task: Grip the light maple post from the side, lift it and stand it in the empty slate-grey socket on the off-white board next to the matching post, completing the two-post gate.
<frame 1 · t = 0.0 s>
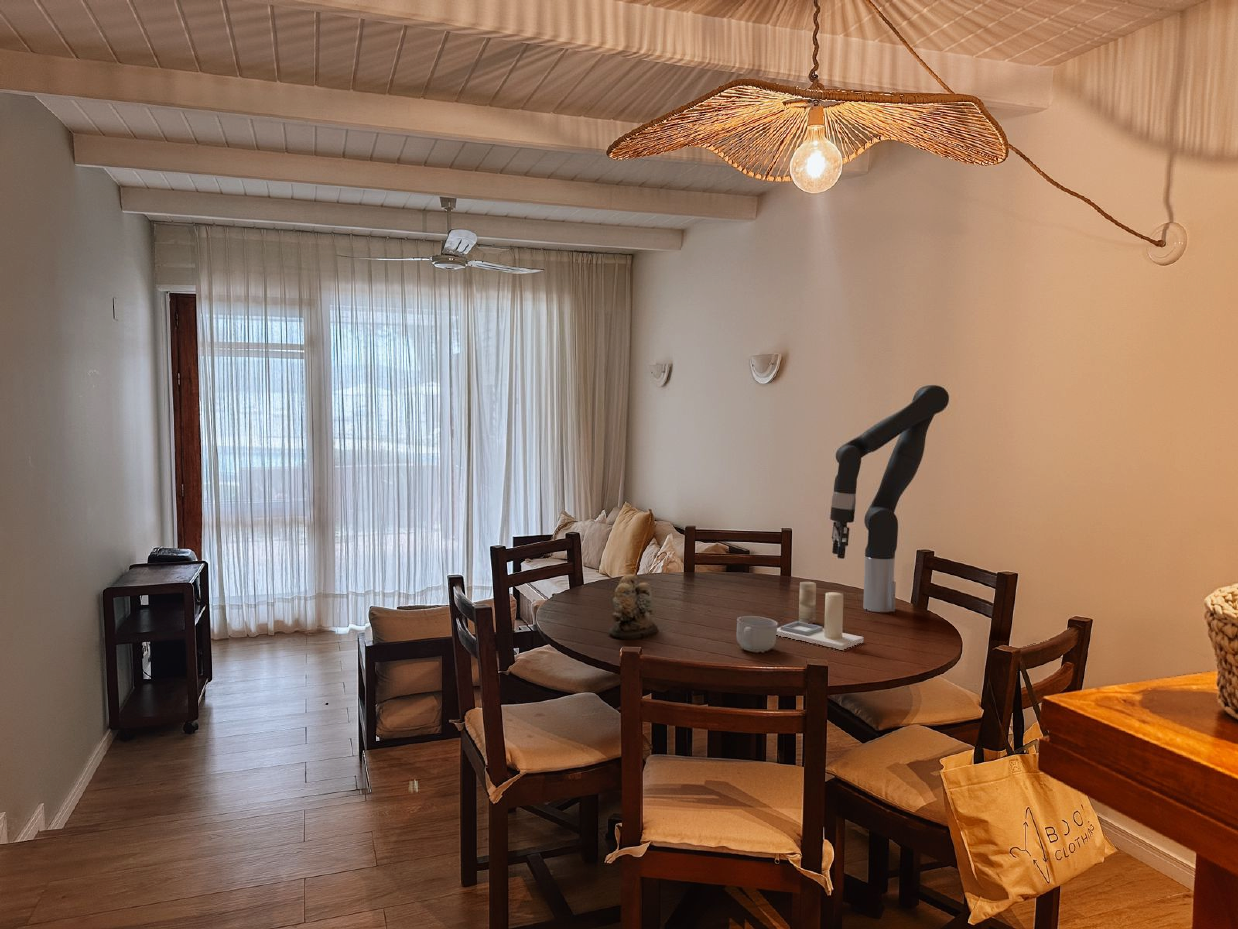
hand: (838, 556, 269), 17 cm above the table, tool pointing down, fingers open, 8 cm apart
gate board: (817, 638, 233), on the table
maple post: (806, 622, 251), on the table
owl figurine: (632, 633, 236), on the table
teacup: (753, 651, 220), on the table
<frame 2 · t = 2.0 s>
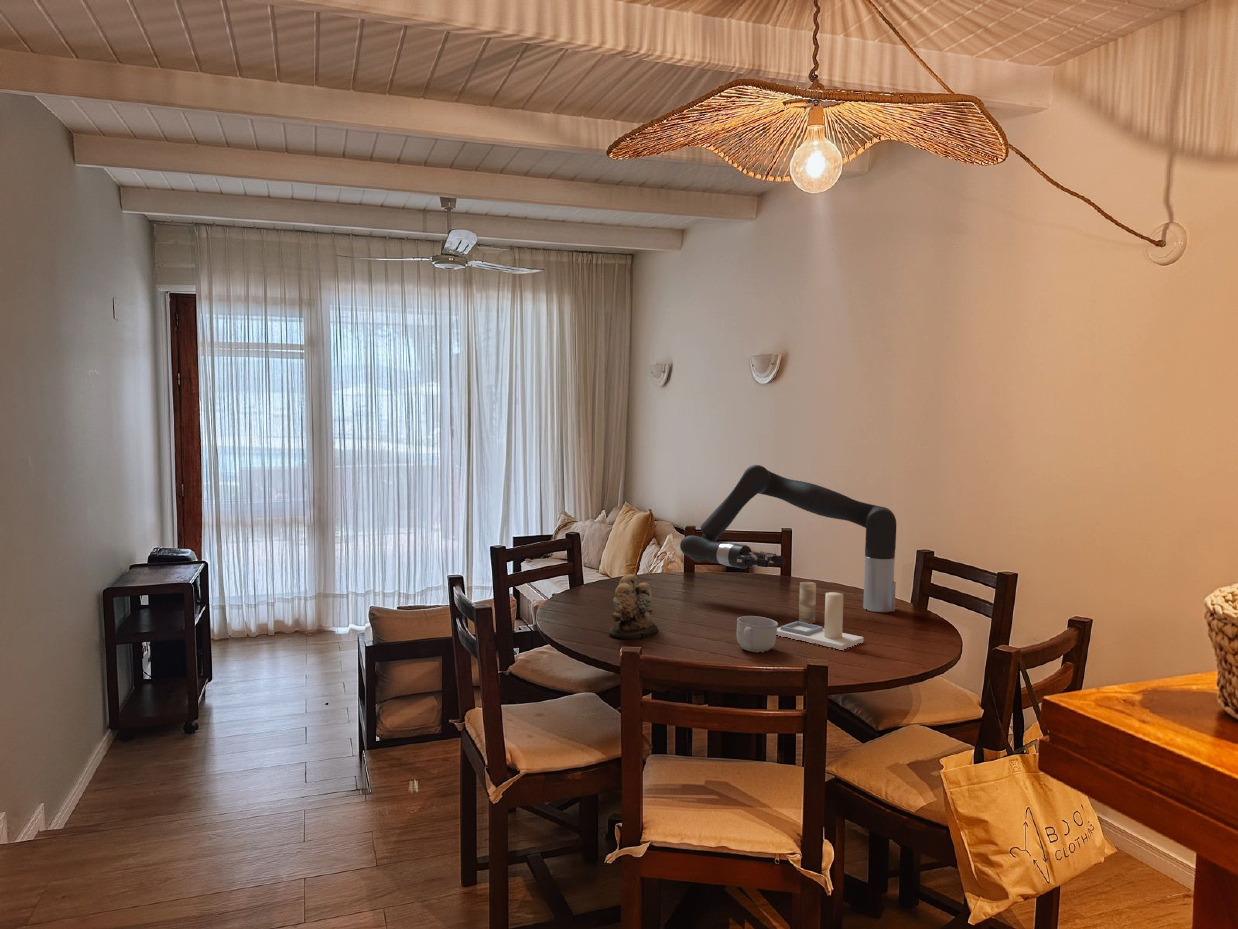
hand: (776, 562, 257), 17 cm above the table, tool horizontal, fingers open, 8 cm apart
nothing on the table moved.
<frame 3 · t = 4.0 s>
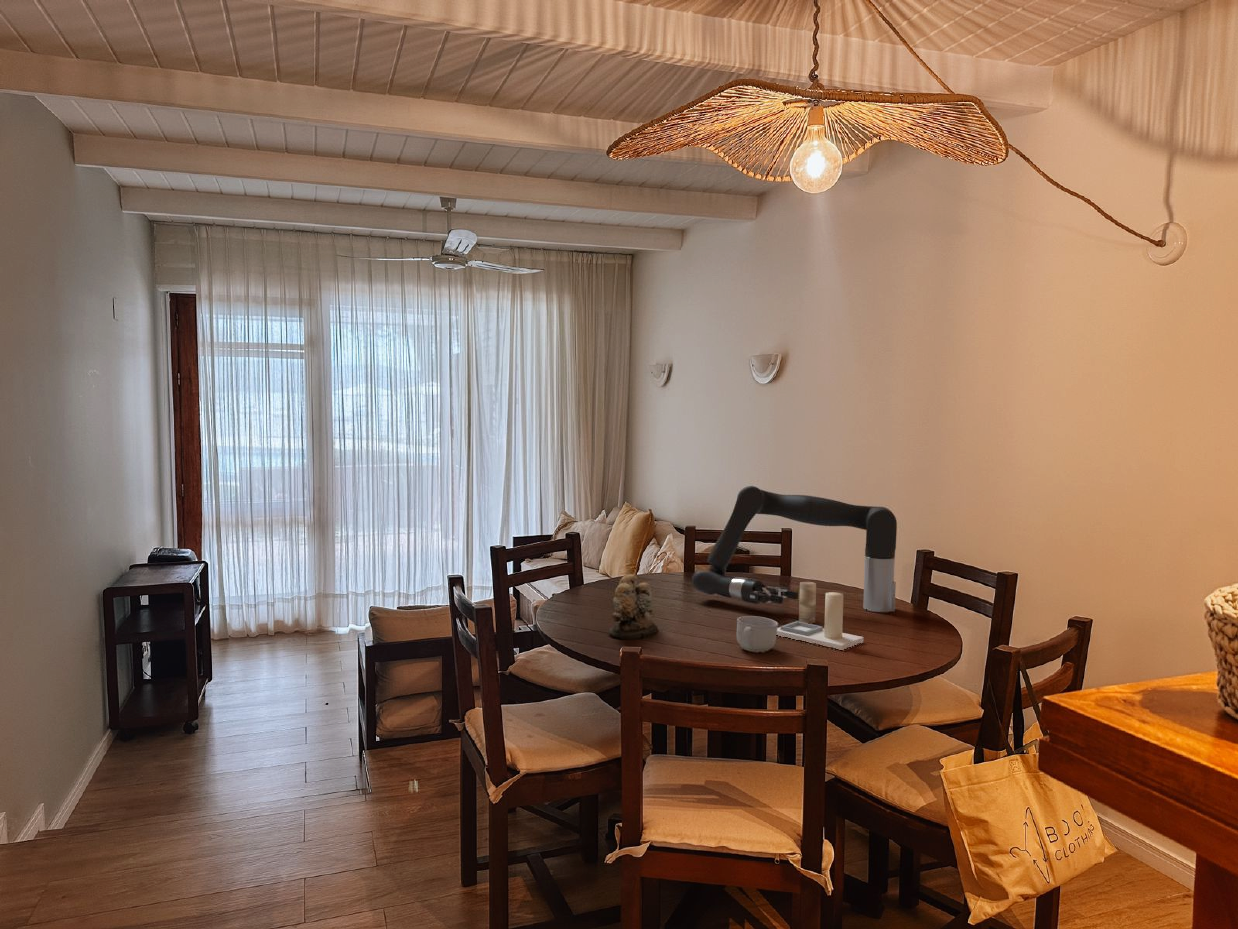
hand: (790, 598, 255), 6 cm above the table, tool horizontal, fingers open, 8 cm apart
nothing on the table moved.
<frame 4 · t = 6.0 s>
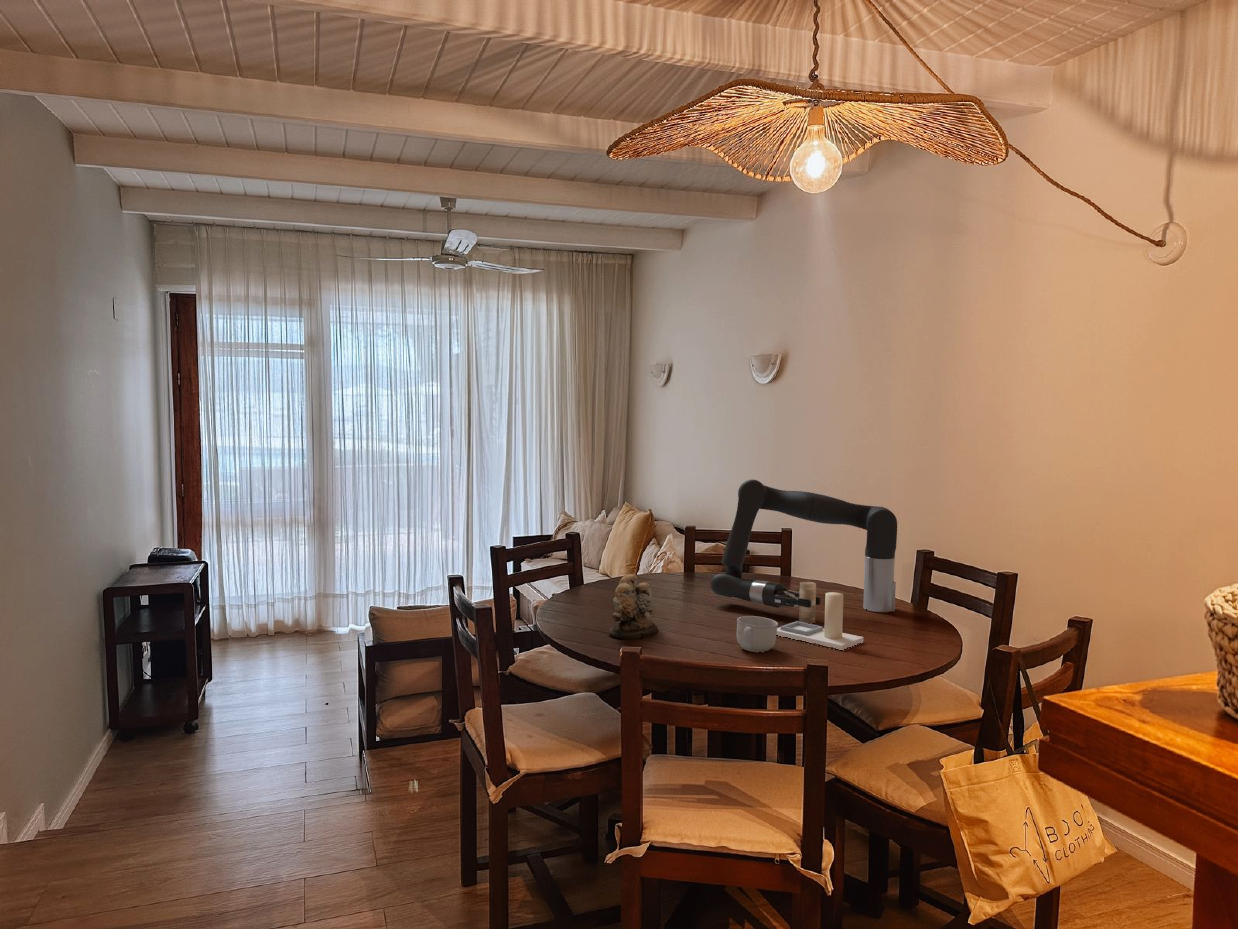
hand: (815, 602, 249), 7 cm above the table, tool horizontal, fingers closed on maple post, 4 cm apart
maple post: (806, 622, 251), on the table, touching gripper
everything else where it was.
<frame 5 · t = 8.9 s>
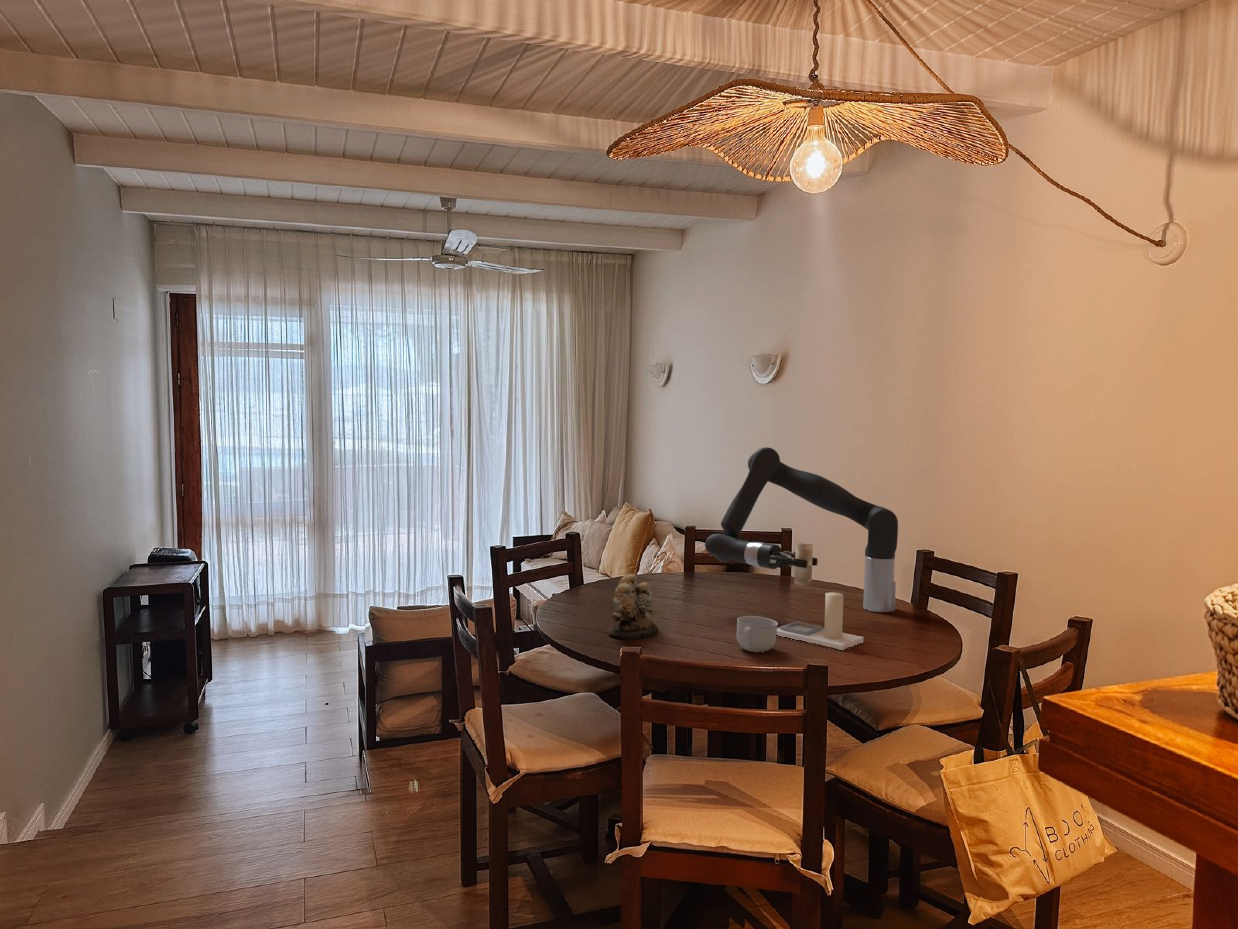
hand: (811, 563, 240), 20 cm above the table, tool horizontal, fingers closed on maple post, 4 cm apart
maple post: (802, 583, 242), point 13 cm above the table, touching gripper
everything else where it was.
when the fingers open (9 cm above the table, at t = 11.9 s): maple post drops 1 cm, resting on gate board.
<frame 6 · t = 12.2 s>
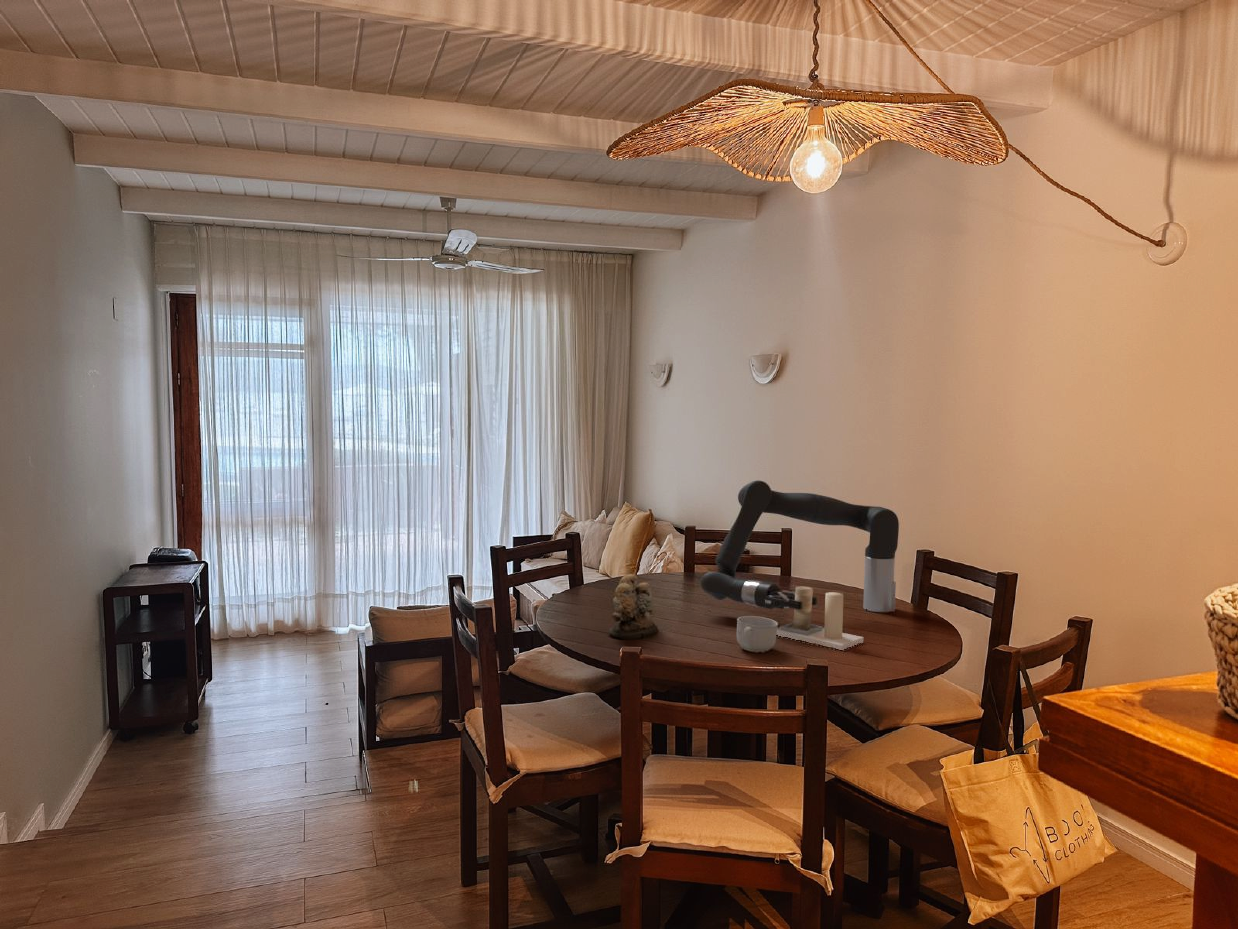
hand: (809, 603, 234), 9 cm above the table, tool horizontal, fingers open, 7 cm apart
maple post: (801, 629, 236), point 2 cm above the table, touching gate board
everything else where it was.
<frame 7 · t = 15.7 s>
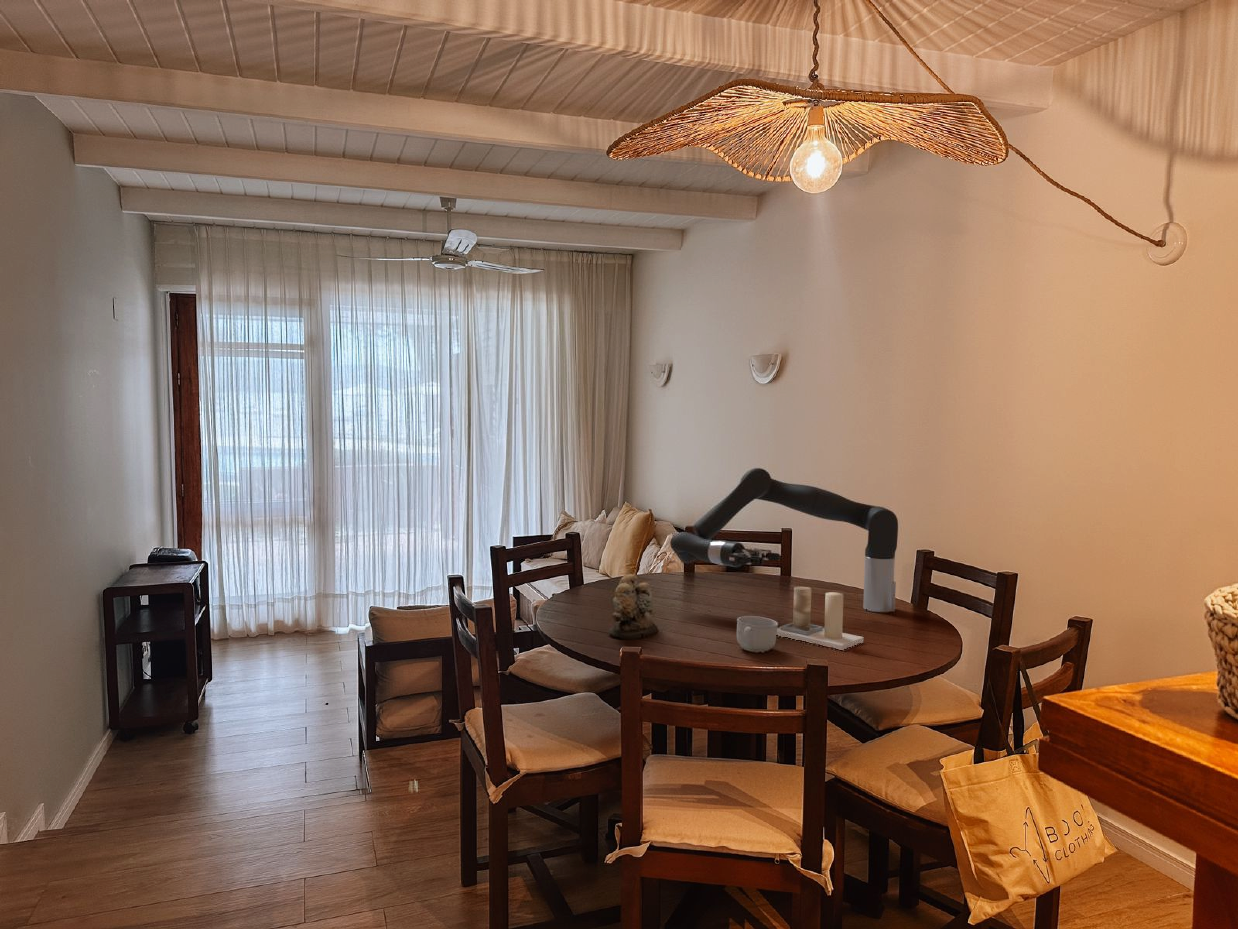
hand: (771, 559, 243), 20 cm above the table, tool horizontal, fingers open, 8 cm apart
nothing on the table moved.
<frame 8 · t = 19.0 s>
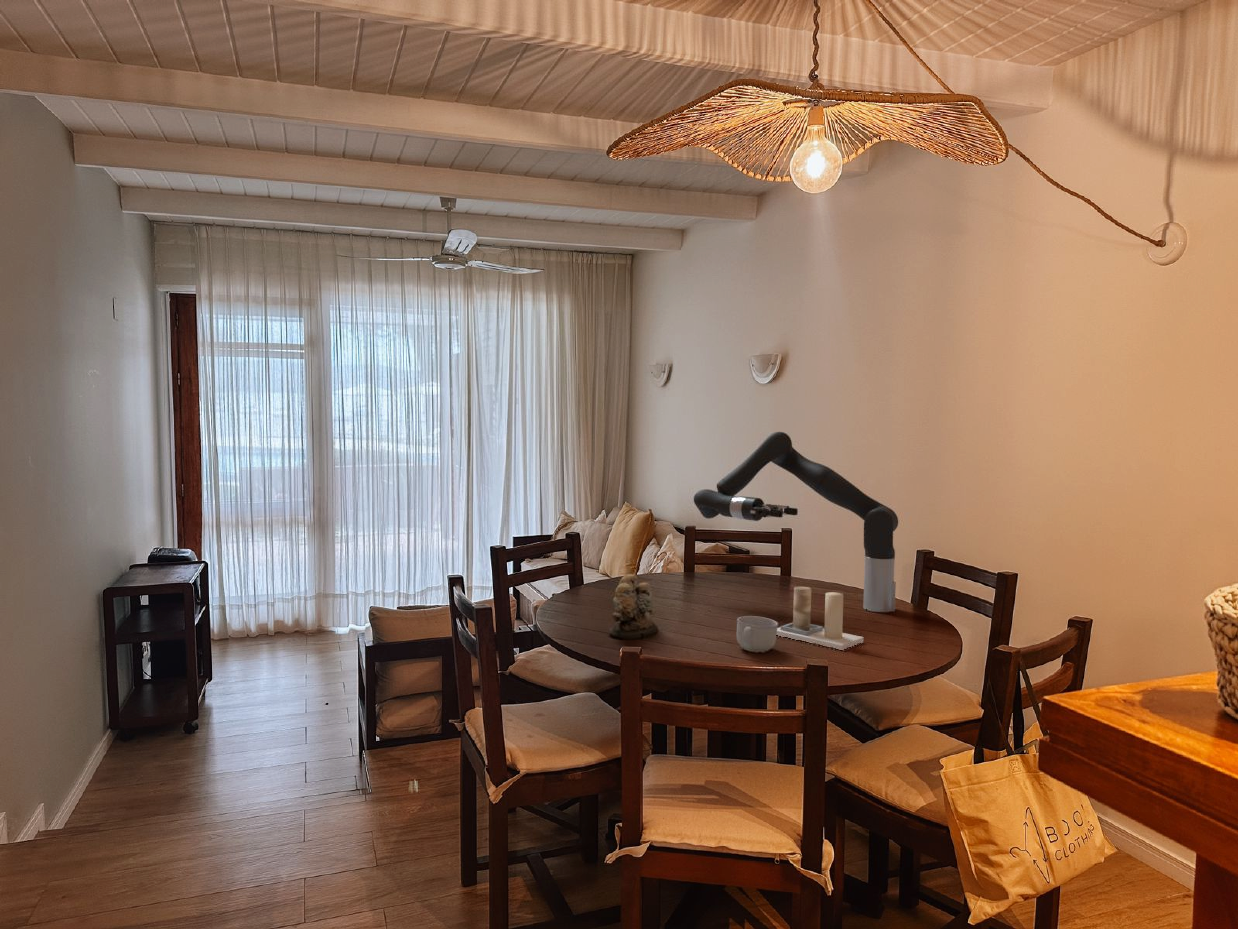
hand: (789, 513, 260), 32 cm above the table, tool horizontal, fingers open, 8 cm apart
nothing on the table moved.
at the end: maple post 0.1 cm from the target spot, point 1.5 cm above the table; maple post tilted 0°; the gripper is holding nothing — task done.
